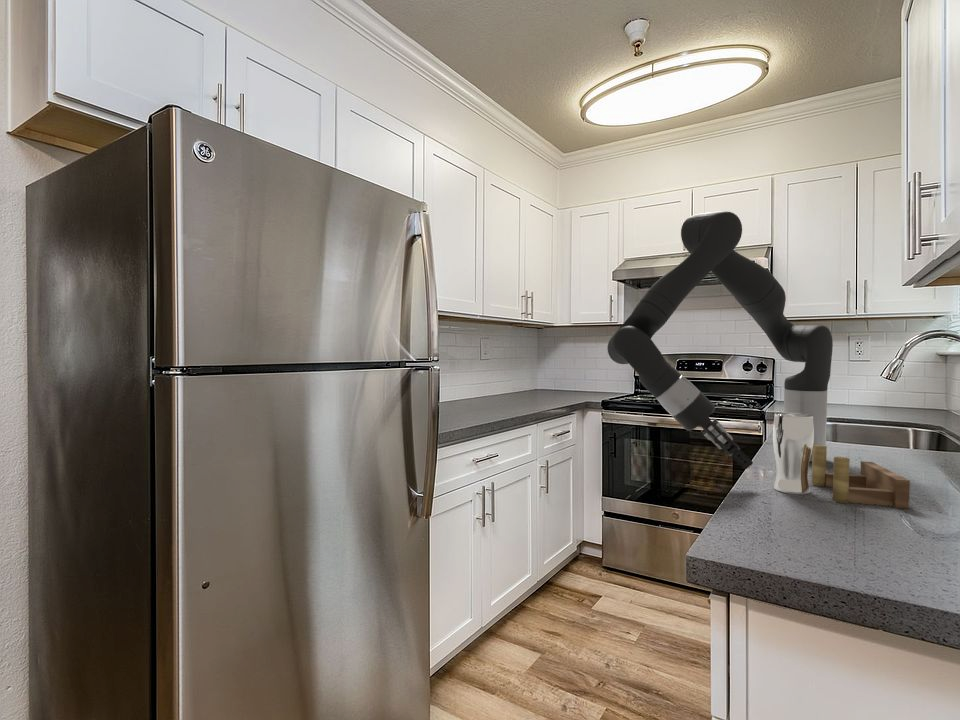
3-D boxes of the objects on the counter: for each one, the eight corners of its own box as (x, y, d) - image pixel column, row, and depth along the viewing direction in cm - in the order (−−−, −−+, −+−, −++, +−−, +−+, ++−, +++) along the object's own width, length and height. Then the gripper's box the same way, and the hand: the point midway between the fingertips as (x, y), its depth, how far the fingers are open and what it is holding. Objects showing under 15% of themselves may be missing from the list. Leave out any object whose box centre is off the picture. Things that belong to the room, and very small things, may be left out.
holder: (809, 482, 113) (810, 444, 113) (871, 486, 110) (872, 447, 110) (836, 503, 98) (837, 459, 98) (908, 508, 96) (910, 463, 95)
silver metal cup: (772, 483, 112) (774, 411, 111) (812, 488, 108) (814, 413, 108) (770, 491, 106) (772, 415, 105) (812, 497, 102) (814, 417, 102)
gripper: (703, 393, 104) (772, 460, 102) (694, 387, 117) (755, 446, 114) (673, 419, 106) (740, 486, 103) (668, 410, 119) (728, 470, 116)
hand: (748, 465), depth 109 cm, fingers closed
